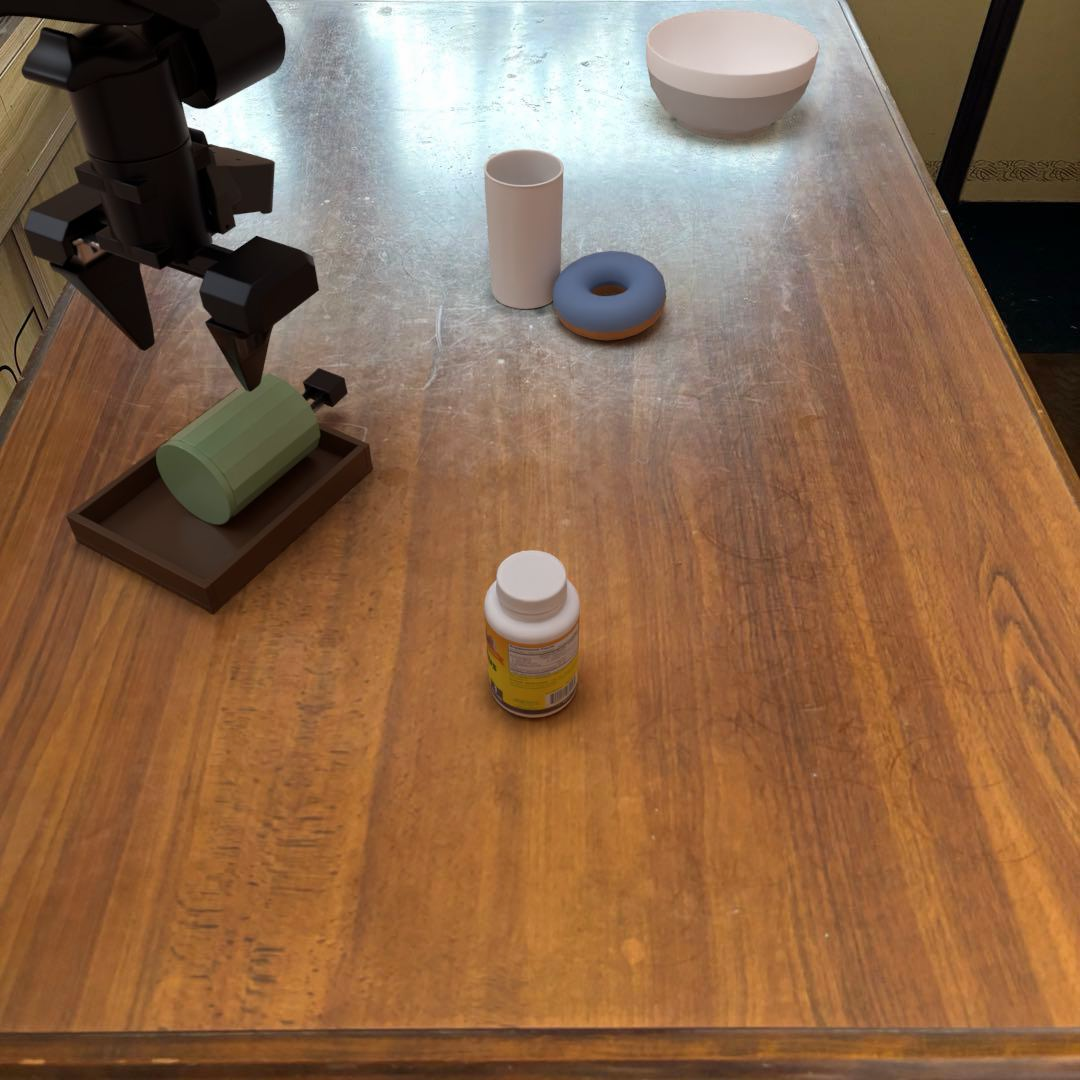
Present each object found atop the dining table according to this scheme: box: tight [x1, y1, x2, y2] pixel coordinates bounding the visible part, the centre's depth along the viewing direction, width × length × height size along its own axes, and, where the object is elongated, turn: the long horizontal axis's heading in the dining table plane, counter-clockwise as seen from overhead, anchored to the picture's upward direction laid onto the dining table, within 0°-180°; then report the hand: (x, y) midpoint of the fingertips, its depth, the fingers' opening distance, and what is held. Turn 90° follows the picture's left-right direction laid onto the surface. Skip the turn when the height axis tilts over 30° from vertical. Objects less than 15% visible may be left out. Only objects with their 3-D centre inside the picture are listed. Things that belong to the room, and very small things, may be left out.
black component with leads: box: [300, 367, 348, 415], centre depth 83 cm, size 4×3×14 cm
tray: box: [65, 387, 374, 615], centre depth 80 cm, size 17×13×2 cm
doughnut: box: [552, 250, 667, 341], centre depth 96 cm, size 10×10×5 cm
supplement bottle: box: [483, 549, 581, 719], centre depth 65 cm, size 6×6×10 cm
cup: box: [156, 372, 320, 525], centre depth 79 cm, size 7×7×10 cm
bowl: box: [645, 9, 820, 140], centre depth 124 cm, size 19×19×9 cm
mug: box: [483, 148, 565, 310], centre depth 98 cm, size 10×7×12 cm, turn 30°
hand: (199, 367), depth 73 cm, fingers open, 9 cm apart
